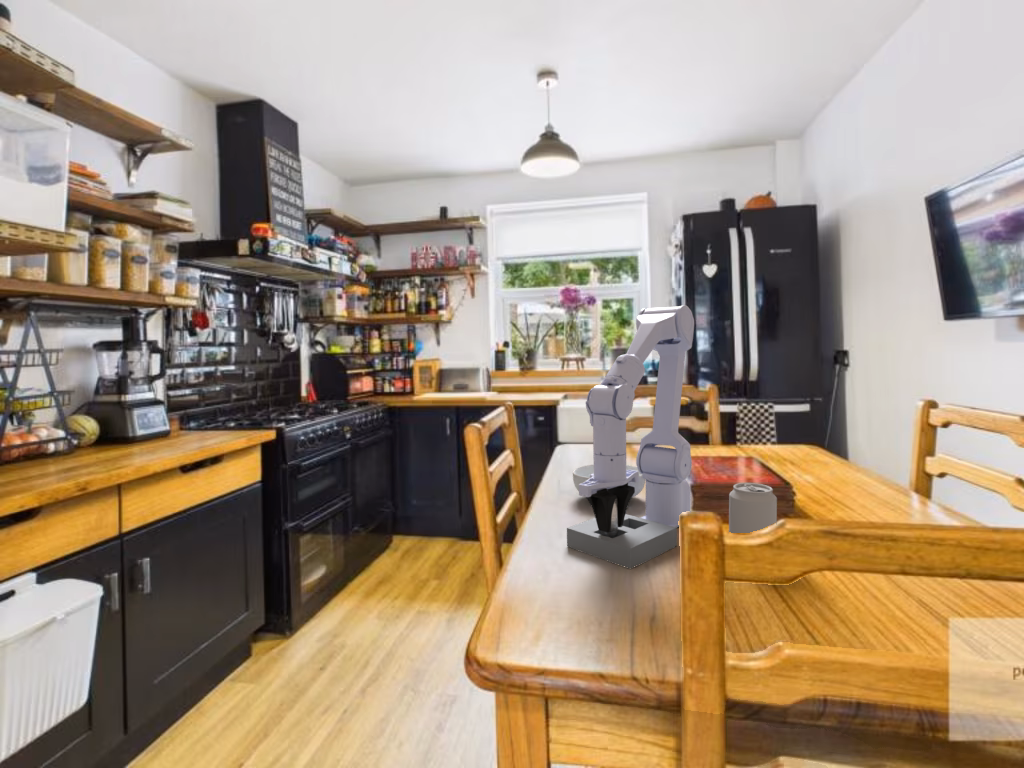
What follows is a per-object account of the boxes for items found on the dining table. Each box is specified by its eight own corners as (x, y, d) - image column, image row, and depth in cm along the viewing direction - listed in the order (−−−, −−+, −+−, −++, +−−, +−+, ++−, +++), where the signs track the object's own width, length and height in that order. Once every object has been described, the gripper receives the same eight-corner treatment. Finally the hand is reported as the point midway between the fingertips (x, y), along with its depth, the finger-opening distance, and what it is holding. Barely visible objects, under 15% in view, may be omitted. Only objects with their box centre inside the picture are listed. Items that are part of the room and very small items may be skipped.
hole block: (614, 527, 107) (614, 510, 107) (676, 546, 97) (676, 527, 97) (567, 546, 98) (566, 527, 98) (630, 569, 88) (630, 548, 87)
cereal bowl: (640, 490, 134) (640, 462, 134) (650, 510, 118) (650, 479, 117) (572, 489, 136) (572, 462, 136) (573, 510, 120) (573, 479, 119)
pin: (609, 537, 97) (608, 494, 97) (621, 541, 95) (620, 497, 95) (597, 541, 96) (596, 497, 95) (610, 546, 93) (609, 500, 93)
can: (748, 565, 88) (749, 494, 87) (719, 549, 95) (720, 482, 94) (786, 559, 90) (787, 489, 89) (754, 543, 97) (755, 479, 96)
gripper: (616, 444, 102) (617, 513, 103) (564, 456, 92) (566, 532, 93) (648, 449, 97) (648, 522, 98) (597, 462, 87) (597, 543, 88)
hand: (610, 528), depth 95 cm, fingers closed on pin, 3 cm apart
